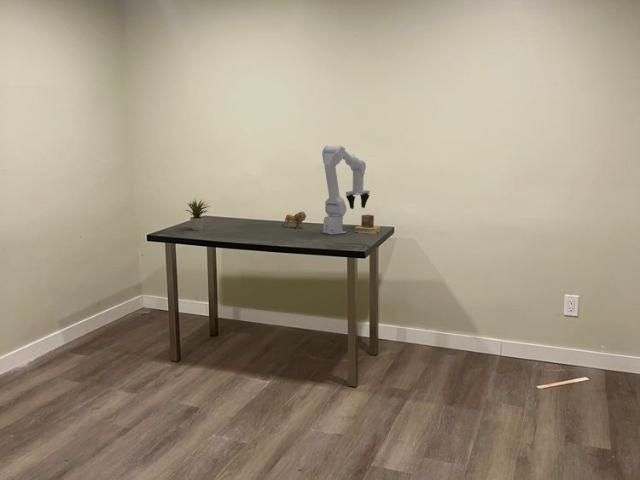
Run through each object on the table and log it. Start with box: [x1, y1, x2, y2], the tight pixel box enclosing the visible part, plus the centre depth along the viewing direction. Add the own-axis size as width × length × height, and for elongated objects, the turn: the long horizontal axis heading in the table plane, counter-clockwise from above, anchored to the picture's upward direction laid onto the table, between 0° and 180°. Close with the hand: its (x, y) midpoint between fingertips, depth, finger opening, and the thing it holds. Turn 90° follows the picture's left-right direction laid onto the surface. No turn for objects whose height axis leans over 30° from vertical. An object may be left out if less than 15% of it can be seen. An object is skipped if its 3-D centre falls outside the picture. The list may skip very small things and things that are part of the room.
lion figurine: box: [281, 211, 307, 229], centre depth 321 cm, size 15×5×9 cm, turn 64°
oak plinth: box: [353, 224, 381, 235], centre depth 310 cm, size 11×11×3 cm
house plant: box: [184, 198, 211, 231], centre depth 312 cm, size 14×14×16 cm
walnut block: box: [360, 214, 375, 228], centre depth 309 cm, size 4×4×6 cm
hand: (357, 208), depth 322 cm, fingers open, 7 cm apart
